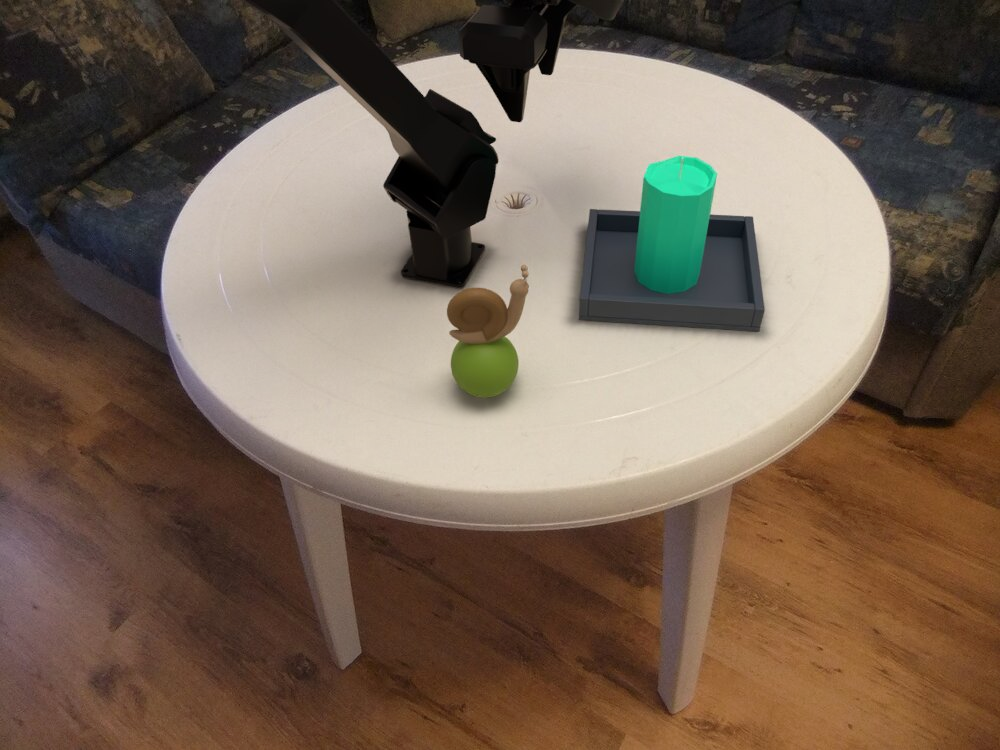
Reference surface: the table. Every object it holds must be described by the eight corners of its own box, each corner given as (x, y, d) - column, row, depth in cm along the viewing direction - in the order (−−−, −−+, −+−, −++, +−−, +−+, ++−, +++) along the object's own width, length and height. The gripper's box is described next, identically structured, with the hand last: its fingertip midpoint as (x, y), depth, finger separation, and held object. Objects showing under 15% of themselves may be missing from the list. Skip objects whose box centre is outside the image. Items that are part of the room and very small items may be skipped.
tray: (578, 320, 71) (579, 298, 69) (588, 229, 80) (589, 208, 78) (759, 331, 69) (765, 309, 67) (748, 237, 78) (753, 216, 76)
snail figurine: (534, 407, 64) (532, 292, 55) (455, 414, 64) (440, 300, 55) (527, 359, 67) (524, 245, 59) (452, 366, 67) (438, 252, 59)
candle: (697, 253, 76) (717, 139, 67) (701, 294, 72) (722, 179, 63) (634, 251, 76) (645, 138, 68) (634, 292, 72) (645, 177, 64)
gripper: (601, -44, 53) (592, 161, 65) (657, -124, 65) (641, 61, 77) (447, -56, 56) (464, 143, 67) (528, -130, 68) (531, 49, 80)
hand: (532, 96), depth 73 cm, fingers open, 9 cm apart
